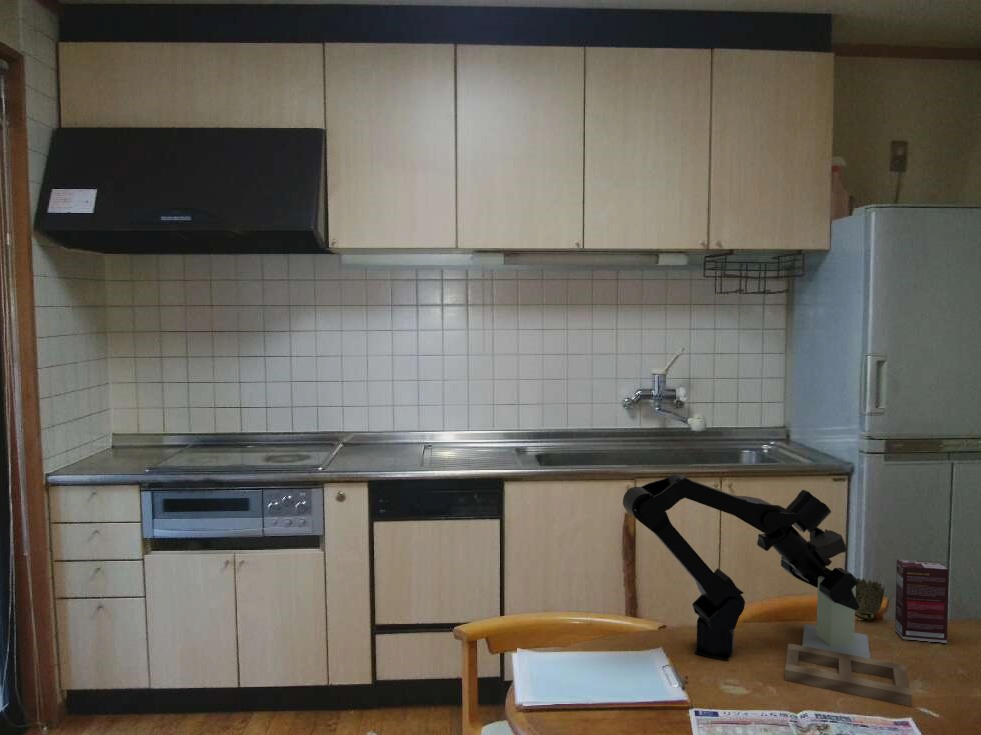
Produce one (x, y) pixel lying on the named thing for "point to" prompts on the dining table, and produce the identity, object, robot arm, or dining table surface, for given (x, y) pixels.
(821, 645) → the grey mat
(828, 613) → the sage block
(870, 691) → the puzzle board
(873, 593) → the dark olive textured piece
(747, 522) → the robot arm
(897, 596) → the supplement box
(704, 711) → the dining table surface
